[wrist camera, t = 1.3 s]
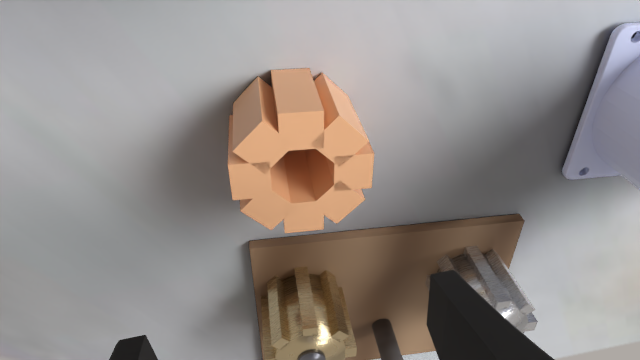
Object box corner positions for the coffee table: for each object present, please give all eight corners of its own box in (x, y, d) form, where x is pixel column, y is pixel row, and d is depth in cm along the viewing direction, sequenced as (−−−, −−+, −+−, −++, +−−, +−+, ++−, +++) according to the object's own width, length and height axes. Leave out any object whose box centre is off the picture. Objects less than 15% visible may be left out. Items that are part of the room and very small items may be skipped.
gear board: (518, 213, 26) (557, 262, 23) (480, 336, 32) (506, 387, 29) (248, 241, 24) (250, 297, 21) (264, 365, 30) (267, 422, 27)
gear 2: (509, 241, 26) (551, 300, 23) (492, 296, 29) (527, 357, 25) (431, 250, 26) (462, 312, 22) (421, 305, 28) (447, 368, 25)
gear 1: (342, 262, 25) (360, 327, 22) (340, 317, 28) (355, 383, 24) (257, 271, 25) (261, 340, 21) (264, 326, 27) (268, 395, 24)
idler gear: (354, 65, 19) (377, 106, 16) (349, 171, 22) (368, 224, 19) (224, 72, 19) (221, 117, 15) (237, 181, 22) (237, 238, 19)
